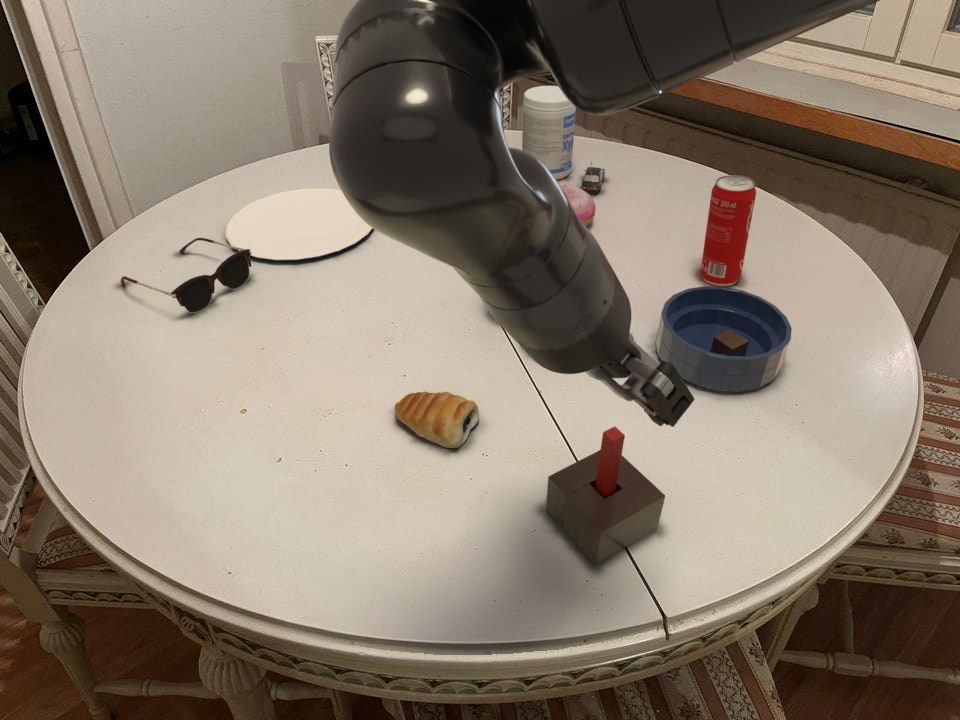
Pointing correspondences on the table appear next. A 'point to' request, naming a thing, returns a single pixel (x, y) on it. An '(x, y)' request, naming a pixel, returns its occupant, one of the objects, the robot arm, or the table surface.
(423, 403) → the pastry
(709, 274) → the beverage can
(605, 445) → the red square peg
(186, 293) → the sunglasses
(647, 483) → the stand
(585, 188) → the toy car
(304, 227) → the plate
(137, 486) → the table surface
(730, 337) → the block
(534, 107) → the supplement tub
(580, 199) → the donut
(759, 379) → the bowl
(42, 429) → the table surface
